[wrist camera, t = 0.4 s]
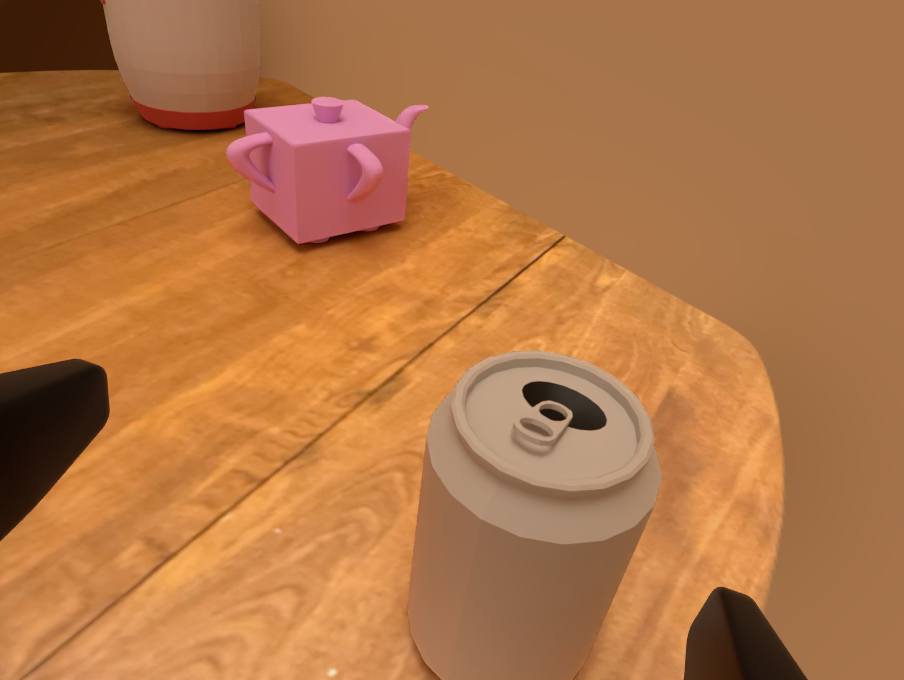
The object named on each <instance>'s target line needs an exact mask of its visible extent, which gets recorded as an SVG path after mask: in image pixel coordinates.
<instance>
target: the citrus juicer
mask: <svg viewBox="0 0 904 680" xmlns="http://www.w3.org/2000/svg"><path fill="white" fill-rule="evenodd" d="M100 1H101V3H102V4H103V6H104V12H105V17H106V22H107V27H108V33H109V38H110V41H111V45H112V49H113V53H114V57H115V60H116V62H117V65H118V68H119V71H120V74H121V76H122V79H123V81H124V83H125V85H126V87H127V89H128V91H129V93H130V97H131V99H132V101H133V102H134V104H135V106H136V107H137V109H138V110H139V112H140V114H141V115H142V116H143V118H144V119H146V120H147V121H149V122H151V123H154V124H156V125H157V126H158V127H160V128H166V129H170V128H175V129H186V130H210V129H220V128H223V129H231V128H235V127H236V126H237V125H238V124H240V123H243V122H245V117H244V111H245V110H249V109H253V106H254V103H255V100H256V90H257V86H258V81H259V70H260V60H261V43H260V26H259V10H258V0H100Z"/></svg>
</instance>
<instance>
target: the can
mask: <svg viewBox="0 0 904 680" xmlns="http://www.w3.org/2000/svg"><path fill="white" fill-rule="evenodd" d="M654 442H655V437H654V432H653V427H652V422H651V418H650V416H649V414H648V413H647V411H646V410H645V408H644V406H643V405H642V403H641V402H640V400H639V398H638V397H637V396H636V395H635V394H634V393H633V392H631V391H630V390H629V389H628V388H627V387H626V386H625V385H624V384H623V383H622V382H620V381H619V380H618V379H617V378H616V377H614V376H612V375H611V374H609V373H607V372H605V371H604V370H602V369H600V368H598V367H597V366H595V365H593V364H591V363H588V362H585V361H582V360H579V359H576V358H573V357H571V356H568V355H563V354H557V353H551V352H545V351H512V352H508V353H504V354H500V355H496V356H492V357H488V358H486V359H484V360H482V361H481V362H479V363H477V364H476V365H474V366H472V367H471V368H469V369H467V371H466V372H465V373H464V374H463V376H462V377H461V378H460V380H459V381H458V382H457V383H456V385H455V387H454V391H452V392H450V393H449V394H447V395H446V397H445V398H444V399H443V401H442V402H441V403H440V404H439V406H438V407H437V408H436V410H435V411H434V412H433V413H432V417H431V421H430V425H429V429H428V434H427V438H426V446H425V455H424V464H423V473H422V481H421V490H420V499H419V508H418V516H417V525H416V534H415V543H414V551H413V560H412V569H411V577H410V586H409V595H408V604H407V610H408V617H409V624H410V631H411V636H412V638H413V640H414V642H415V644H416V646H417V648H418V650H419V652H420V654H421V656H422V658H423V660H424V662H425V663H426V664H427V665H428V666H429V667H430V669H431V670H432V671H433V672H434V673H435V674H436V675H437V676H438V677H439V678H440V679H441V680H573V679H574V677H575V676H576V675H577V674H578V672H579V671H580V670H581V669H582V667H583V666H584V663H585V661H586V659H587V657H588V654H589V652H590V650H591V648H592V645H593V643H594V641H595V639H596V636H597V634H598V632H599V630H600V627H601V625H602V623H603V621H604V618H605V616H606V614H607V612H608V609H609V607H610V605H611V602H612V600H613V598H614V596H615V593H616V591H617V589H618V587H619V584H620V582H621V580H622V578H623V575H624V573H625V571H626V569H627V566H628V564H629V562H630V560H631V557H632V555H633V553H634V551H635V548H636V546H637V544H638V542H639V539H640V537H641V535H642V533H643V530H644V528H645V526H646V524H647V521H648V519H649V517H650V515H651V512H652V510H653V508H654V506H655V502H656V499H657V495H658V491H659V487H660V484H661V480H662V477H661V472H660V466H659V461H658V456H657V451H656V450H655V448H654V446H653V445H654Z"/></svg>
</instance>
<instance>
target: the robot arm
mask: <svg viewBox="0 0 904 680" xmlns="http://www.w3.org/2000/svg"><path fill="white" fill-rule="evenodd" d="M109 412H110V407H109V395H108V383H107V374H106V372H105V370H104V369H103V368H102V367H101V366H99V365H96V364H93V363H90V362H87V361H85V360H81V359H70V360H65V361H60V362H56V363H51V364H46V365H41V366H36V367H31V368H26V369H21V370H17V371H12V372H7V373H2V374H0V541H1V540H2V539H3V538H4V537H5V536H6V535H7V534H8V533H9V532H10V531H11V530H12V529H14V528H15V527H16V526H17V525H18V524H19V523H20V522H21V521H22V520H23V519H24V518H25V517H26V516H27V515H28V514H29V513H30V512H31V511H32V510H33V509H34V508H35V506H36V505H37V504H38V503H39V502H40V501H41V500H42V499H43V498H44V496H45V495H46V494H47V493H48V492H49V491H50V490H51V488H52V487H53V486H54V485H55V484H56V482H57V481H58V480H59V479H60V478H61V477H62V475H63V474H64V473H65V472H66V471H67V470H68V468H69V467H70V466H71V465H72V464H73V463H74V461H75V460H76V459H77V458H78V457H79V455H80V454H81V453H82V452H83V451H84V450H85V448H86V447H87V446H88V445H89V444H90V443H91V441H92V440H93V439H94V438H95V437H96V436H97V434H98V433H99V432H100V431H101V430H102V428H103V427H104V426H105V424H106V422H107V420H108V417H109ZM684 680H808V679H807V678H806V676H805V675H804V674H803V672H802V671H801V669H800V668H799V666H798V665H797V663H796V662H795V660H794V659H793V658H792V656H791V654H790V653H789V652H788V650H787V649H786V647H785V646H784V644H783V643H782V641H781V640H780V638H779V637H778V635H777V634H776V632H775V631H774V630H773V628H772V627H771V625H770V624H769V622H768V621H767V619H766V618H765V616H764V615H763V613H762V612H761V610H760V609H759V607H758V606H757V605H756V603H755V602H754V601H753V599H751V598H750V597H749V596H747V595H745V594H742V593H739V592H736V591H734V590H731V589H728V588H725V587H717V588H715V589H714V590H713V591H712V593H711V594H710V596H709V597H708V599H707V600H706V602H705V604H704V605H703V607H702V609H701V610H700V612H699V613H698V615H697V617H696V618H695V620H694V621H693V623H692V625H691V627H690V630H689V633H688V638H687V645H686V659H685V672H684Z"/></svg>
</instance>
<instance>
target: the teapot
mask: <svg viewBox="0 0 904 680" xmlns="http://www.w3.org/2000/svg"><path fill="white" fill-rule="evenodd" d="M426 109H428V106H426V105H416V106H410V107H408V108H406V109H405V110H404V111H403V112H402V113H401V114H400V115H399V117H398V118H397V120H396V122H395V121H393V120H391V119H389V118H388V117H386V116H384V115H382V114H380V113H378V112H377V111H375V110H373V109H371V108H369V107H367V106H365V105H363V104H362V103H360V102H358V101H356V100H344V101H341V100H339V99H337V98H332V97H318V98H315V99H313V100H312V103H311V104H300V105H290V106H279V107H269V108H258V109H249V110H245V111H244V117H245V129H246V137H243V138H240V139H238V140H236V141H234V142H232V143H231V144H230V145H229V146H228V147H227V151H226V156H227V159H228V161H229V162H230V164H231V165H232V166H233V168H234V169H235V170H236V171H237V172H238V173H240V174H241V175H242V176H244V177H245V178H247V179H248V180H250V189H251V201H252V203H253V204H254V205H255V206H257V207H258V208H259V209H260V210H261V211H262V212H263V213H264V214H265V215H267V216H268V217H269V218H270V219H271V220H272V221H273V222H274V223H275V224H276V225H277V226H279V227H280V228H281V229H282V230H283V231H284V232H285V233H286V234H287V235H288V236H290V237H291V238H292V239H293V240H294V241H295V242H296V243H297V244H300V243H305V242H312V243H323V242H326V241H327V240H328V239H329V237H332V236H336V235H341V234H345V233H350V232H354V231H358V230H362V231H375V230H377V229H378V226H381V225H385V224H389V223H394V222H398V221H403V220H405V212H406V198H407V183H408V168H409V153H410V139H411V131H410V130H411V127H412V125H413V123H414V121H415V120H416V118H417V117H418V116H419V115H420V114H421V113H422V112H423V111H425V110H426Z"/></svg>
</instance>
